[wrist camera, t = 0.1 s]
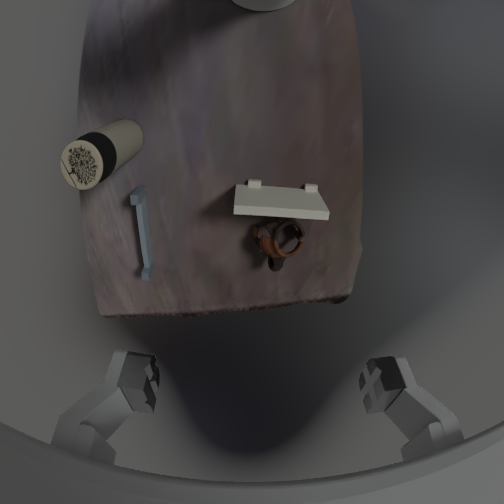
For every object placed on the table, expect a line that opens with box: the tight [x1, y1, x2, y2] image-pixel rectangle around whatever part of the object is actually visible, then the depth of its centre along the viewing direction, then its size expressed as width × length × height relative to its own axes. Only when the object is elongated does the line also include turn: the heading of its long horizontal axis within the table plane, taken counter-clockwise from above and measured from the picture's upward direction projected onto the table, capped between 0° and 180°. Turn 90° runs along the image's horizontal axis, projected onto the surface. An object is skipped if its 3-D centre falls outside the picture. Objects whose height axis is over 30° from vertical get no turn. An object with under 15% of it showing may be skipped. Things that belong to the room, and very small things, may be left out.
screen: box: [234, 179, 329, 220], centre depth 53 cm, size 4×16×10 cm, turn 86°
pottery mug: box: [253, 217, 305, 271], centre depth 60 cm, size 12×10×8 cm
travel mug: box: [60, 119, 143, 190], centre depth 42 cm, size 8×8×18 cm
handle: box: [130, 186, 155, 280], centre depth 59 cm, size 20×2×5 cm, turn 176°
